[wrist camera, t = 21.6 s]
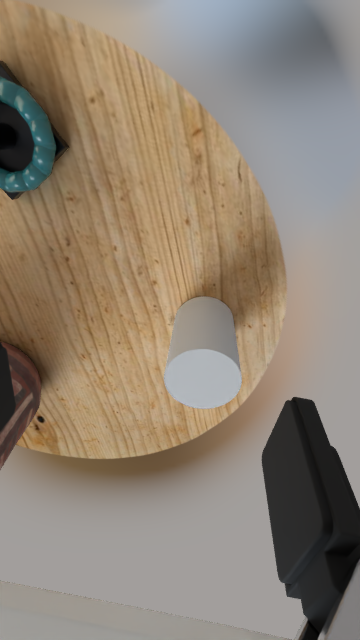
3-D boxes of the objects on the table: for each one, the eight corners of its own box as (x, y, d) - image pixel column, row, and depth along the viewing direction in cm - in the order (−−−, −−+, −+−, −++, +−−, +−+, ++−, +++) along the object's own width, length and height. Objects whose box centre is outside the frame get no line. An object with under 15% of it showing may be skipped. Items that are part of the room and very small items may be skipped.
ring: (0, 51, 29) (-14, 45, 27) (77, 149, 32) (70, 150, 30) (-57, 127, 32) (-72, 126, 30) (19, 208, 36) (9, 212, 34)
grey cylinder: (167, 337, 44) (155, 396, 34) (185, 288, 40) (177, 338, 30) (220, 353, 45) (223, 416, 35) (243, 307, 41) (254, 363, 31)
